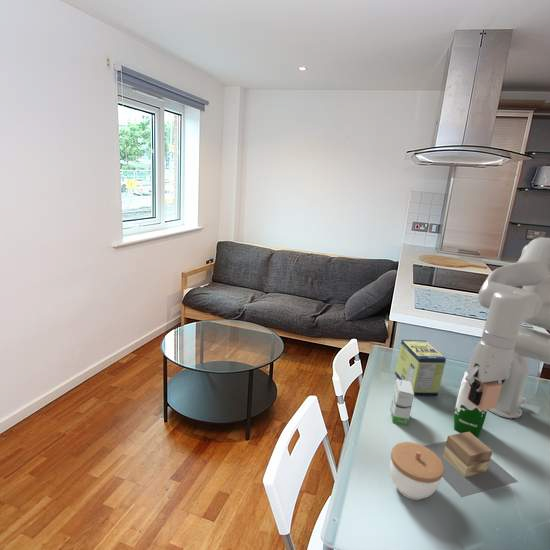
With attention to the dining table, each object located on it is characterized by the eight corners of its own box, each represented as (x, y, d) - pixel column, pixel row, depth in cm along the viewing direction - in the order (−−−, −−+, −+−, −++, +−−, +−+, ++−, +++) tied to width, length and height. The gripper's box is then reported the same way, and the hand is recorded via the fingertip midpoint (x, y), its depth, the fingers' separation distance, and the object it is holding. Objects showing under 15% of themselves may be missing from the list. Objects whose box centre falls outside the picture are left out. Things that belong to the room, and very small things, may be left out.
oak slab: (463, 451, 113) (466, 441, 112) (486, 471, 106) (489, 461, 105) (442, 456, 111) (445, 446, 110) (464, 477, 103) (467, 466, 102)
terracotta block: (480, 397, 106) (486, 374, 104) (495, 408, 101) (502, 384, 100) (466, 399, 104) (472, 376, 102) (481, 410, 100) (487, 386, 98)
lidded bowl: (431, 518, 90) (441, 480, 87) (379, 492, 96) (386, 455, 93) (440, 484, 101) (449, 449, 98) (392, 462, 107) (400, 429, 104)
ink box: (407, 426, 123) (414, 394, 120) (392, 423, 124) (398, 391, 120) (404, 411, 131) (411, 380, 128) (389, 408, 132) (396, 377, 129)
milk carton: (450, 431, 123) (465, 376, 117) (451, 416, 131) (464, 363, 125) (481, 441, 119) (497, 384, 114) (479, 425, 127) (494, 371, 122)
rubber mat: (465, 438, 120) (466, 437, 120) (517, 482, 104) (518, 481, 104) (414, 448, 113) (414, 447, 113) (461, 498, 97) (461, 496, 97)
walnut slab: (466, 441, 112) (469, 431, 111) (489, 461, 105) (492, 450, 104) (445, 446, 110) (447, 435, 109) (467, 466, 102) (470, 455, 101)
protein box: (417, 374, 157) (425, 339, 153) (438, 396, 142) (447, 358, 138) (394, 374, 155) (401, 339, 151) (412, 396, 140) (420, 358, 136)
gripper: (509, 331, 104) (492, 390, 109) (461, 334, 98) (446, 396, 103) (535, 343, 97) (516, 405, 102) (485, 348, 91) (468, 413, 96)
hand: (481, 400), depth 103 cm, fingers closed on terracotta block, 5 cm apart
